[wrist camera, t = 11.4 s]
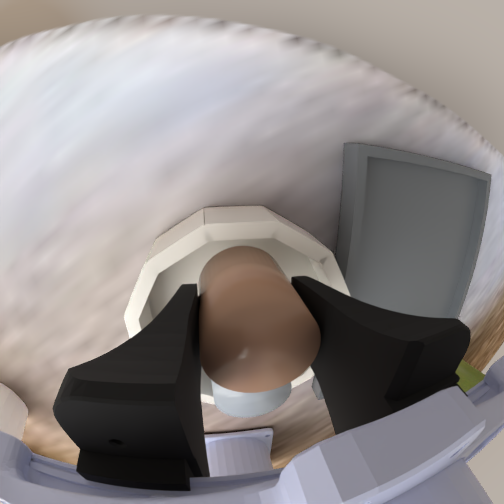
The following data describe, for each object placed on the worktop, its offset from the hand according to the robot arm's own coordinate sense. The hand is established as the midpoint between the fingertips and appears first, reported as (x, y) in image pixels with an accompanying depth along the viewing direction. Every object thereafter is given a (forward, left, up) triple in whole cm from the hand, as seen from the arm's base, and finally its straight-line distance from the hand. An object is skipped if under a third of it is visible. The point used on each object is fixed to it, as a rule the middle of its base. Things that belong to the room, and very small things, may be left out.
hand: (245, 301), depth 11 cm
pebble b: (0, 0, -1) cm, 1 cm away
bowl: (-2, 0, -4) cm, 5 cm away
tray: (-2, -13, -4) cm, 14 cm away
